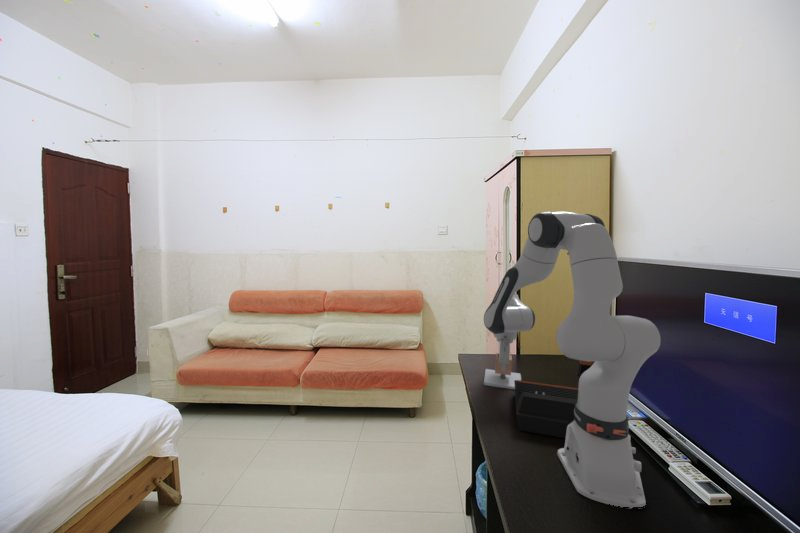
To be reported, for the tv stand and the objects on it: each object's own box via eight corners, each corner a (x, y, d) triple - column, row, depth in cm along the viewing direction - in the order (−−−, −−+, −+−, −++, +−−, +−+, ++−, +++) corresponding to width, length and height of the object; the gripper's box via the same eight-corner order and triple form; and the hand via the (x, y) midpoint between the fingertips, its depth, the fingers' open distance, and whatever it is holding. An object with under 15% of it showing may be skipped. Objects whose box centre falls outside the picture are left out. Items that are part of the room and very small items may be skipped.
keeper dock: (521, 390, 132) (523, 370, 131) (483, 385, 136) (484, 365, 135) (520, 375, 145) (521, 357, 144) (485, 371, 149) (486, 353, 148)
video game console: (599, 407, 121) (601, 380, 120) (622, 451, 97) (625, 417, 96) (513, 394, 129) (515, 368, 128) (515, 432, 105) (517, 400, 104)
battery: (598, 379, 143) (600, 356, 142) (580, 377, 144) (581, 354, 143) (595, 375, 147) (597, 352, 146) (577, 373, 149) (579, 350, 148)
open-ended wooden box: (510, 375, 136) (511, 360, 136) (494, 373, 138) (495, 358, 137) (510, 369, 142) (511, 355, 141) (495, 367, 144) (496, 353, 143)
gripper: (514, 341, 127) (511, 377, 129) (513, 326, 147) (511, 358, 148) (496, 339, 129) (494, 375, 131) (497, 325, 149) (495, 356, 150)
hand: (503, 366), depth 140 cm, fingers closed on open-ended wooden box, 6 cm apart
